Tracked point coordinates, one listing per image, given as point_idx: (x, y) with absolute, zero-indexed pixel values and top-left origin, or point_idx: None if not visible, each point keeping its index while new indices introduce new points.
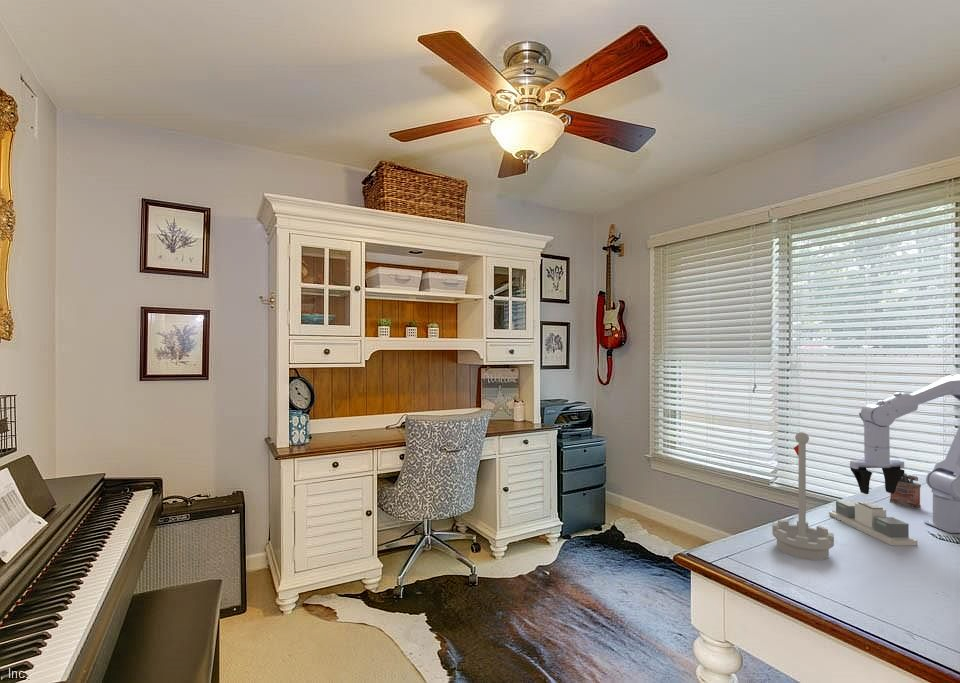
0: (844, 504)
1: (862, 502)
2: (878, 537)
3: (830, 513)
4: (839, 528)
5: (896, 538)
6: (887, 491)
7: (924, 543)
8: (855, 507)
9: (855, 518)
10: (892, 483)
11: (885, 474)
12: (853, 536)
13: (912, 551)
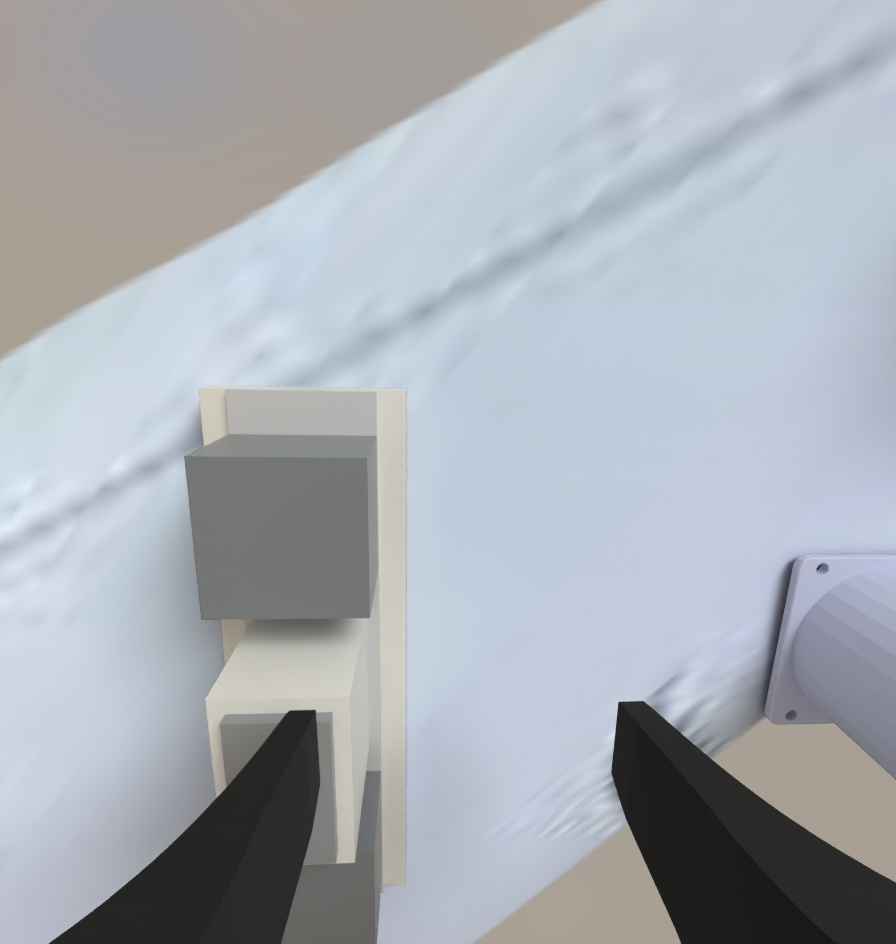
0: (196, 569)
1: (256, 736)
2: None
3: (205, 404)
4: (118, 640)
5: None
6: (618, 726)
7: (470, 834)
8: (222, 677)
9: (254, 622)
10: (674, 900)
11: (762, 914)
12: (124, 758)
13: None
